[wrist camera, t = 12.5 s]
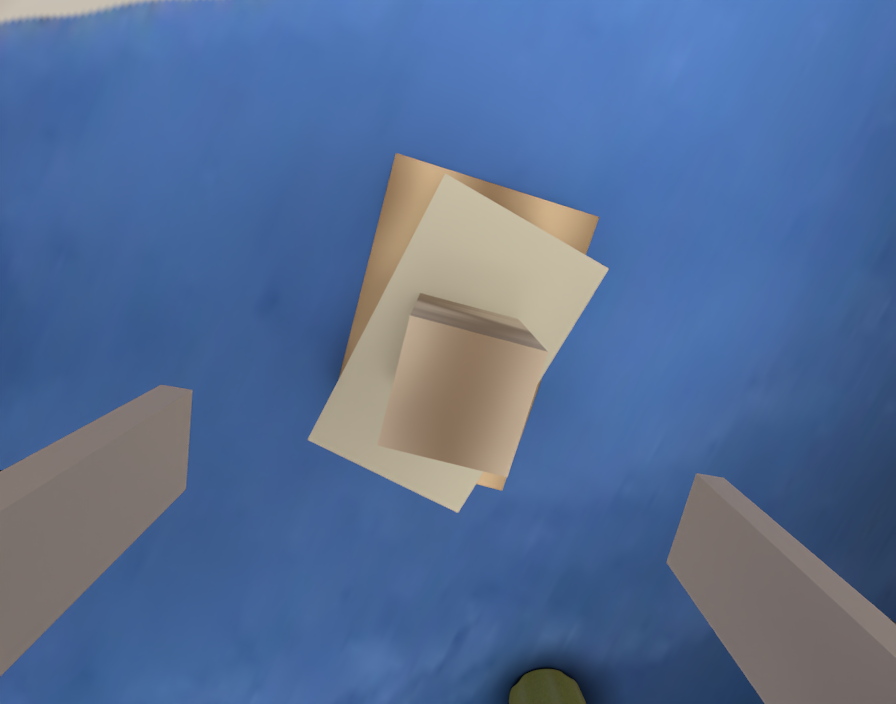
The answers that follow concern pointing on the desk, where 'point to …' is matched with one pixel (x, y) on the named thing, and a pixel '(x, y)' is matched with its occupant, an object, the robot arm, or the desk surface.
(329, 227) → the desk surface
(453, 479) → the middle block
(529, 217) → the bottom block
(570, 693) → the plant pot
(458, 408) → the ash block
